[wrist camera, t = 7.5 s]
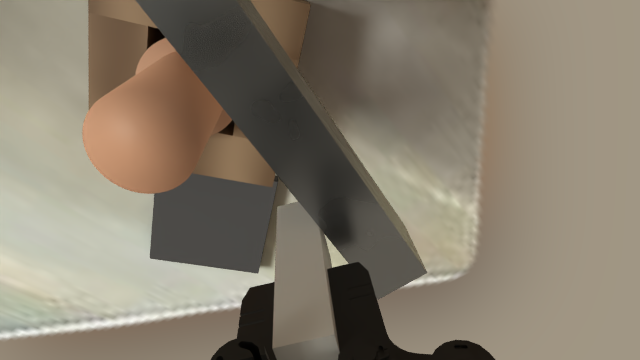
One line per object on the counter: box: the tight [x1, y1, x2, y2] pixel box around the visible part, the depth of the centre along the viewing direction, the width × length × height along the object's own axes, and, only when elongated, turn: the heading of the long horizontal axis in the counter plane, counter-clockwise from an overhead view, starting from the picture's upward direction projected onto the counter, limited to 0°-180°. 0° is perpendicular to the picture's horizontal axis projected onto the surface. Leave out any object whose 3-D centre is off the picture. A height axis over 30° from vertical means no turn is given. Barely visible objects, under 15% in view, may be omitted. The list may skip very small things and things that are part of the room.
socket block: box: [88, 0, 311, 187], centre depth 21 cm, size 12×16×15 cm
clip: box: [136, 0, 427, 299], centre depth 13 cm, size 4×16×3 cm, turn 34°
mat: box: [150, 173, 278, 273], centre depth 33 cm, size 9×9×1 cm
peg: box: [82, 38, 232, 194], centre depth 22 cm, size 6×6×14 cm
